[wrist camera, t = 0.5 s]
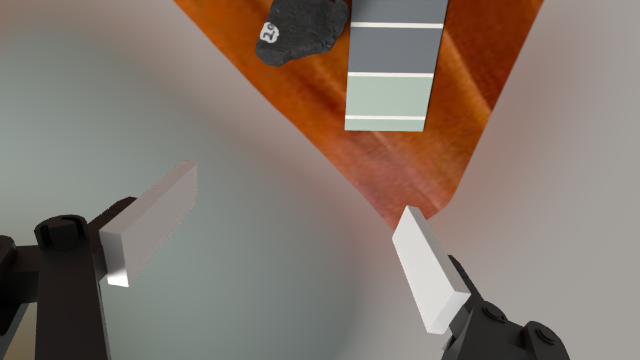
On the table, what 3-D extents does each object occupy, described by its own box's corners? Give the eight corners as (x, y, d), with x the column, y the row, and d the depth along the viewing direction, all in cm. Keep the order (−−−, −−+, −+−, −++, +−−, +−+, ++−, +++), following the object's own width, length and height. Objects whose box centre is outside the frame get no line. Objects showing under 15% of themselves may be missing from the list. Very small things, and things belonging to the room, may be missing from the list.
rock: (313, 87, 38) (312, 92, 33) (256, 56, 36) (246, 56, 31) (348, 14, 34) (353, 6, 29) (286, -25, 32) (280, -40, 27)
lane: (356, -77, 30) (356, -79, 30) (460, -75, 30) (462, -77, 30) (344, 129, 41) (344, 130, 40) (421, 130, 41) (422, 131, 40)
